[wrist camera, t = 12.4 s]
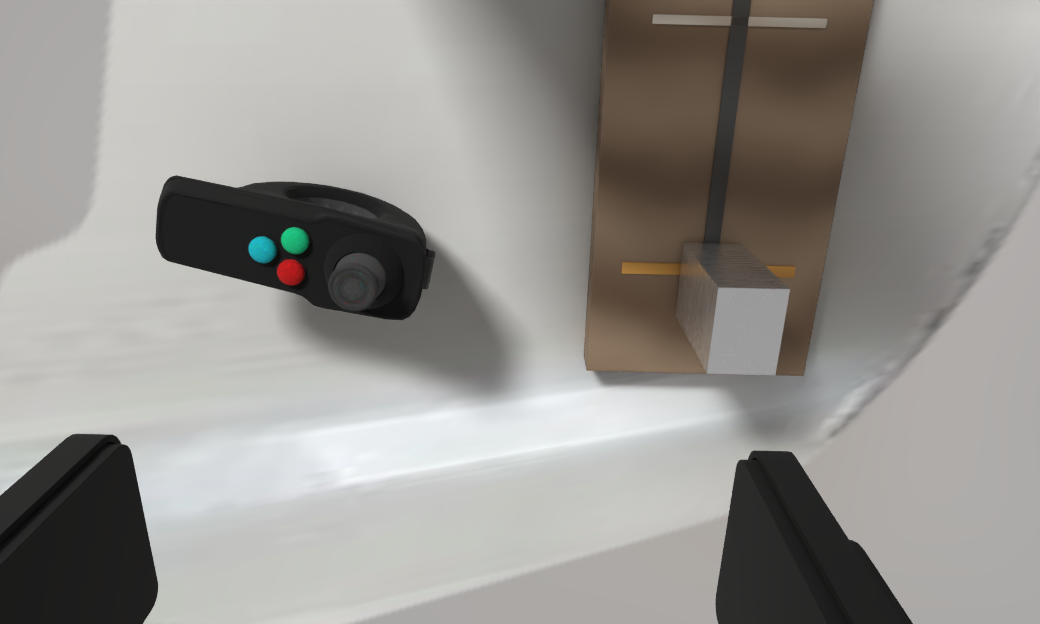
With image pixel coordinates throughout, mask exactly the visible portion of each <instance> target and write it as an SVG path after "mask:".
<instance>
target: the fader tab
mask: <svg viewBox="0 0 1040 624" xmlns="http://www.w3.org/2000/svg"><path fill="white" fill-rule="evenodd" d="M789 293H790V289H789V288H788V287H787V286H786V285H785V284H784V283H783V282H782V281H781V280H780V279H779V278H778V277H777V276H776V275H774V274H773V273H772V272H771V271H770V270H769V269H768V268H767V267H766V266H765V265H764V264H763V263H762V262H761V261H760V260H759V259H758V258H757V257H755V256H754V255H753V254H752V253H751V252H750V251H749V250H748V249H747V248H746V247H745V246H744V245H743V244H721V243H684V244H683V253H682V262H681V271H680V280H679V289H678V298H677V307H676V317H677V319H678V321H679V323H680V325H681V326H682V328H683V330H684V332H685V334H686V336H687V338H688V339H689V341H690V343H691V345H692V347H693V349H694V351H695V352H696V354H697V356H698V358H699V360H700V362H701V363H702V365H703V367H704V369H705V371H706V373H707V374H739V375H776V369H777V363H778V357H779V351H780V345H781V340H782V334H783V328H784V322H785V316H786V310H787V304H788V299H789Z"/></svg>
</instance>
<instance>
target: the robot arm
mask: <svg viewBox="0 0 1040 624" xmlns="http://www.w3.org/2000/svg"><path fill="white" fill-rule="evenodd" d="M157 593H158V581H157V576H156V571H155V566H154V561H153V556H152V552H151V547H150V542H149V537H148V532H147V527H146V522H145V517H144V512H143V507H142V502H141V497H140V492H139V487H138V482H137V478H136V473H135V468H134V463H133V458H132V453H131V450H130V449H129V447H128V446H126V445H123V444H121V442H120V440H119V439H118V438H117V437H116V436H114V435H101V434H73V435H71V436H69V437H68V438H66V439H65V440H64V441H63V442H62V443H60V444H59V445H58V446H57V447H56V448H55V449H53V450H52V451H51V452H50V453H49V454H48V455H47V456H45V457H44V458H43V459H42V460H41V461H40V462H39V463H37V464H36V465H35V466H34V467H33V468H32V469H30V470H29V471H28V472H27V473H26V474H25V475H24V476H22V477H21V478H20V479H19V480H18V481H17V482H16V483H14V484H13V485H12V486H11V487H10V488H9V489H7V490H6V491H5V492H4V493H3V494H2V495H1V496H0V624H143V622H144V621H145V619H146V618H147V616H148V615H149V613H150V612H151V610H152V608H153V606H154V604H155V601H156V598H157ZM716 614H717V620H718V624H913V623H912V622H911V620H910V619H909V617H908V616H907V614H906V613H905V611H904V610H903V608H902V607H901V605H900V604H899V602H898V601H897V599H896V598H895V596H894V595H893V593H892V592H891V590H890V589H889V587H888V585H887V584H886V582H885V581H884V580H883V578H882V576H881V575H880V573H879V572H878V570H877V569H876V567H875V566H874V564H873V563H872V561H871V560H870V559H869V557H868V555H867V554H866V552H865V551H864V550H863V548H862V547H861V546H860V545H859V544H858V543H856V542H854V541H852V540H849V539H848V538H847V536H846V535H845V533H844V532H843V530H842V528H841V527H840V525H839V524H838V522H837V521H836V519H835V518H834V516H833V515H832V513H831V511H830V510H829V508H828V507H827V505H826V504H825V502H824V501H823V499H822V497H821V496H820V494H819V493H818V491H817V490H816V488H815V487H814V485H813V483H812V482H811V480H810V479H809V477H808V476H807V474H806V473H805V471H804V469H803V468H802V466H801V465H800V463H799V462H798V460H797V459H796V457H795V456H794V455H793V453H792V452H788V451H752V452H751V454H750V456H749V458H748V460H739V461H738V463H737V467H736V472H735V478H734V485H733V491H732V497H731V504H730V510H729V516H728V524H727V529H726V536H725V542H724V548H723V555H722V561H721V568H720V574H719V580H718V587H717V593H716Z"/></svg>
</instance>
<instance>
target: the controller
mask: <svg viewBox="0 0 1040 624" xmlns="http://www.w3.org/2000/svg"><path fill="white" fill-rule="evenodd" d="M156 244H157V247H158V250H159V252H160V254H161V256H162V257H163V258H164V259H166V260H167V261H170V262H174V263H178V264H182V265H185V266H189V267H193V268H197V269H201V270H205V271H209V272H213V273H217V274H221V275H225V276H229V277H233V278H237V279H240V280H244V281H248V282H252V283H256V284H260V285H264V286H268V287H272V288H276V289H280V290H284V291H288V292H292V293H295V294H298V295H301V296H303V297H304V298H306V299H307V300H308V301H309V302H310V303H312V304H313V305H315V306H318V307H322V308H326V309H332V310H337V311H343V312H349V313H354V314H360V315H365V316H371V317H377V318H382V319H391V320H404V319H406V318H408V317H409V316H410V315H411V314H412V313H413V312H414V311H415V309H416V306H417V304H418V302H419V300H420V297H421V292H422V289H427V288H428V285H429V281H430V277H431V272H432V268H433V263H434V258H435V252H434V251H431V250H428V249H426V239H425V235H424V232H423V229H422V228H421V226H420V225H419V223H418V222H417V221H416V220H415V219H414V218H413V217H412V216H410V215H409V214H407V213H406V212H404V211H402V210H401V209H399V208H398V207H396V206H394V205H392V204H390V203H387V202H385V201H383V200H380V199H378V198H375V197H372V196H369V195H366V194H363V193H359V192H355V191H351V190H346V189H342V188H337V187H332V186H326V185H319V184H311V183H298V182H265V183H253V184H250V185H247V186H244V187H239V188H234V187H230V186H225V185H220V184H215V183H210V182H205V181H201V180H196V179H191V178H186V177H181V176H173V177H170V178H169V179H168V180H167V181H166V182H165V184H164V186H163V190H162V193H161V195H160V199H159V203H158V207H157V223H156Z"/></svg>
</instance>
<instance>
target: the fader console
mask: <svg viewBox="0 0 1040 624" xmlns="http://www.w3.org/2000/svg"><path fill="white" fill-rule="evenodd" d="M873 1H874V0H606V4H605V20H604V36H603V53H602V69H601V85H600V101H599V118H598V134H597V150H596V166H595V182H594V199H593V215H592V231H591V247H590V263H589V280H588V296H587V312H586V328H585V345H584V359H585V364H586V370H588V371H628V372H669V373H706V371H705V369H704V367H703V365H702V363H701V362H700V360H699V358H698V356H697V354H696V352H695V351H694V349H693V347H692V345H691V343H690V341H689V339H688V338H687V336H686V334H685V332H684V330H683V328H682V326H681V325H680V323H679V321H678V319H677V317H676V307H677V298H678V289H679V280H680V271H681V262H682V253H683V244H684V243H721V244H743V245H744V246H745V247H746V248H747V249H748V250H749V251H750V252H751V253H752V254H753V255H754V256H755V257H757V258H758V259H759V260H760V261H761V262H762V263H763V264H764V265H765V266H766V267H767V268H768V269H769V270H770V271H771V272H772V273H773V274H774V275H776V276H777V277H778V278H779V279H780V280H781V281H782V282H783V283H784V284H785V285H786V286H787V287H788V288H789V289H790V293H789V299H788V304H787V310H786V316H785V322H784V328H783V334H782V340H781V345H780V351H779V357H778V363H777V369H776V375H790V376H804V371H805V365H806V360H807V355H808V349H809V344H810V339H811V333H812V328H813V322H814V317H815V312H816V306H817V301H818V296H819V290H820V285H821V280H822V274H823V269H824V264H825V258H826V253H827V248H828V242H829V237H830V232H831V226H832V221H833V215H834V210H835V205H836V199H837V194H838V189H839V183H840V178H841V173H842V167H843V162H844V157H845V151H846V146H847V141H848V135H849V130H850V125H851V119H852V114H853V108H854V103H855V98H856V92H857V87H858V82H859V76H860V71H861V66H862V60H863V55H864V50H865V44H866V39H867V34H868V28H869V23H870V18H871V12H872V7H873Z"/></svg>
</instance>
